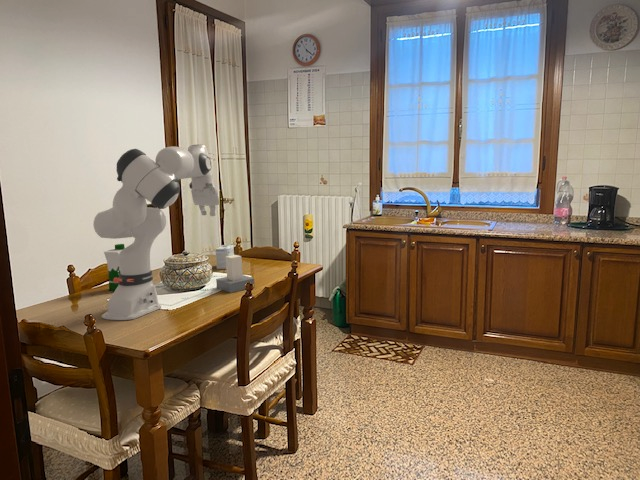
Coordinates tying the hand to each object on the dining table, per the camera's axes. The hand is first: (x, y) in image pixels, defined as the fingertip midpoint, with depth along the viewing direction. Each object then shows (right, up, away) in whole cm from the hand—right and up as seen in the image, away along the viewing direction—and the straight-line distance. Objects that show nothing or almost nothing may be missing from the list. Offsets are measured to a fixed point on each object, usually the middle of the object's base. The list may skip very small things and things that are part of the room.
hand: (208, 215), depth 215 cm
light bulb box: (-2, -25, +49) cm, 55 cm away
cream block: (+10, -27, +5) cm, 30 cm away
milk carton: (-42, -33, +10) cm, 54 cm away
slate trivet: (+11, -31, +6) cm, 34 cm away
